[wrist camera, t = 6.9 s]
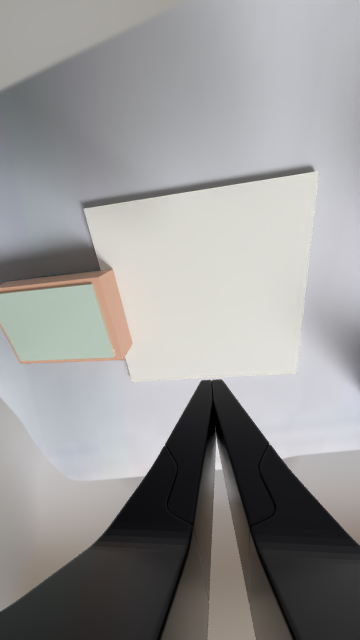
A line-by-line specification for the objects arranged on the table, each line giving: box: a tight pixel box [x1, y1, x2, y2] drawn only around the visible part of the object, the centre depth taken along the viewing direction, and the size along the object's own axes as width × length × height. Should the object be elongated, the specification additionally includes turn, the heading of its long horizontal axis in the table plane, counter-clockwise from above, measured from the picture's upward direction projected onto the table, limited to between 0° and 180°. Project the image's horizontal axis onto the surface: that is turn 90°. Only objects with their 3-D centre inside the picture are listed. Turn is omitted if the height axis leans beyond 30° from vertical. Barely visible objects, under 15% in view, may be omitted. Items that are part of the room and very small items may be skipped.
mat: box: [84, 171, 319, 382], centre depth 19 cm, size 16×16×1 cm
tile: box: [0, 269, 133, 364], centre depth 19 cm, size 3×7×10 cm
